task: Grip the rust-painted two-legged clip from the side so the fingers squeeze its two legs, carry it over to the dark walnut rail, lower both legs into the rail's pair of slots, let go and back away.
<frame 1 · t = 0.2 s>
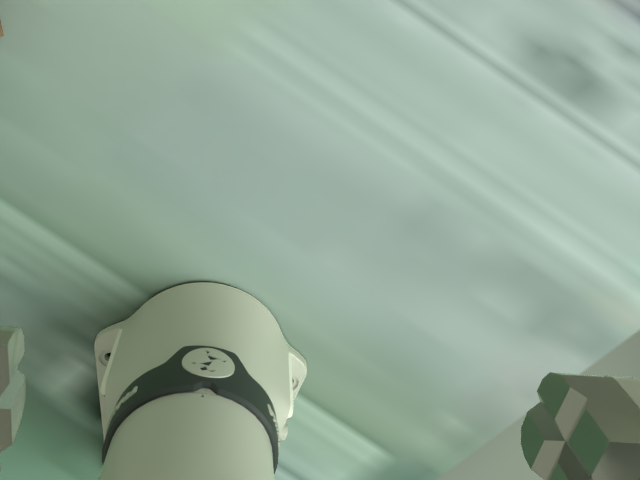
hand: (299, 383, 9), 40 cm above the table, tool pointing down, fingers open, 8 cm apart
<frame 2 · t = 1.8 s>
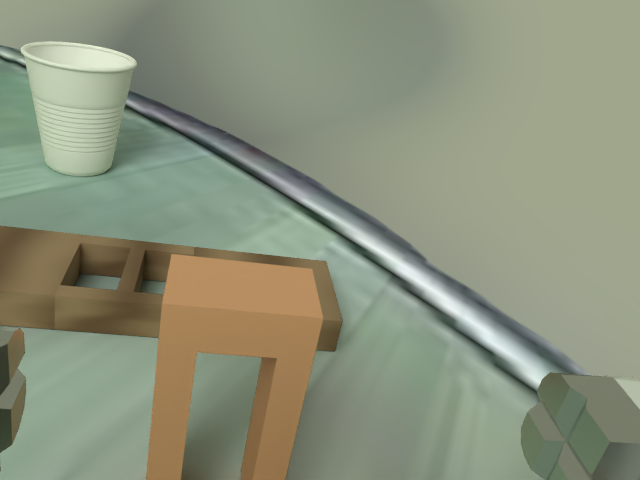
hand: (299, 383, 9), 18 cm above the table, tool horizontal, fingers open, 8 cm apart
rail: (130, 299, 41), on the table
cup: (78, 167, 60), on the table
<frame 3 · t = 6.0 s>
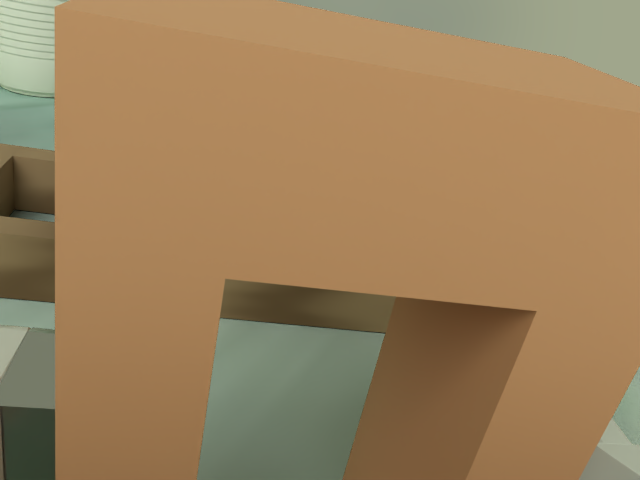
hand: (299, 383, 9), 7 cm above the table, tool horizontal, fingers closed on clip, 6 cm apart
rail: (93, 249, 24), on the table
cup: (41, 89, 43), on the table
when the fingers open (8 cm above the table, at t = 11.1 s): clip drops 1 cm, resting in rail.
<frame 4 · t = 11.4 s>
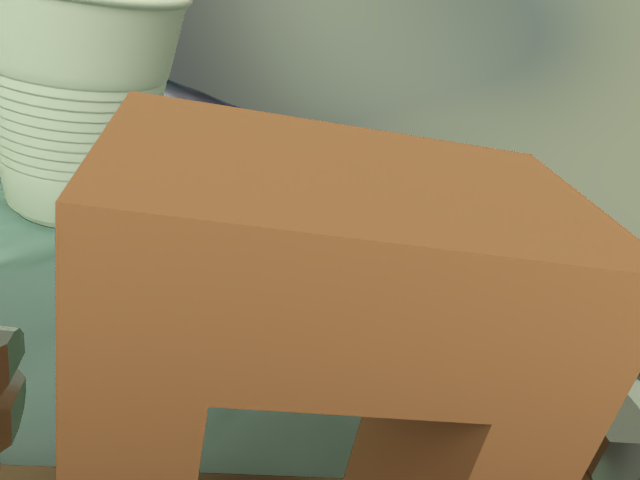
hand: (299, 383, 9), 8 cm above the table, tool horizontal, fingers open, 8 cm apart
cup: (73, 208, 31), on the table
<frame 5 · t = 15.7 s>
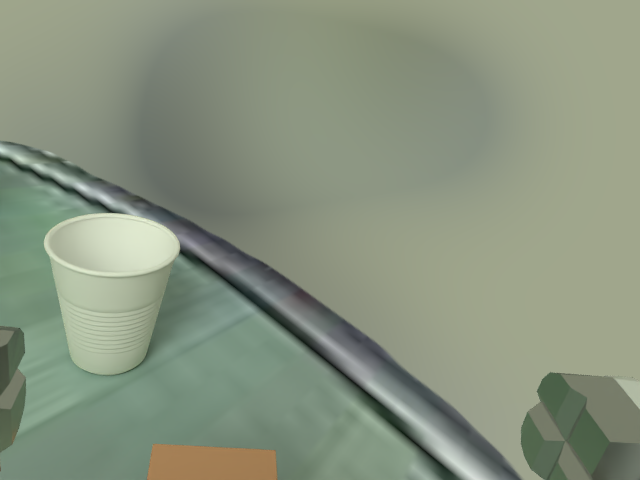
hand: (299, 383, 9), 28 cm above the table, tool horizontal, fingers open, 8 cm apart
cup: (108, 356, 51), on the table
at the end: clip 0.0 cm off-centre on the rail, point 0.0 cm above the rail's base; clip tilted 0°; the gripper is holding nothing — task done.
